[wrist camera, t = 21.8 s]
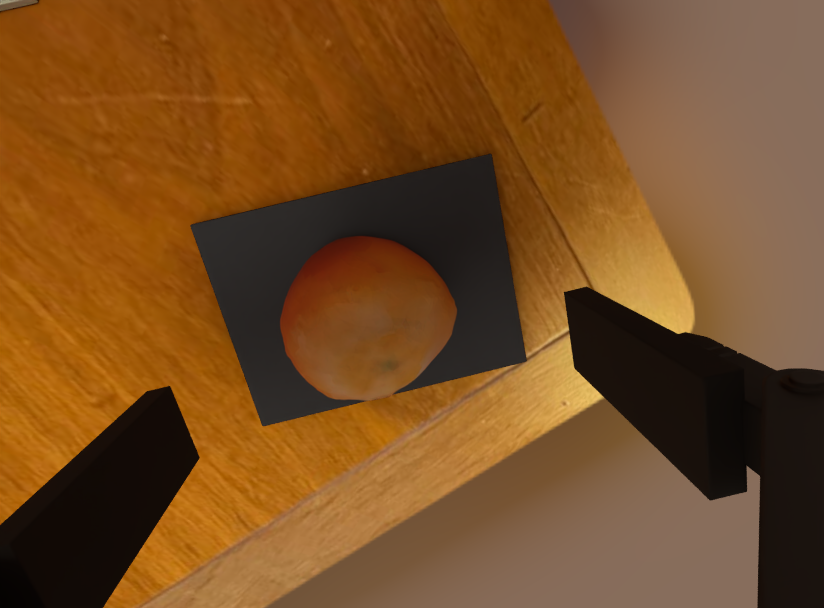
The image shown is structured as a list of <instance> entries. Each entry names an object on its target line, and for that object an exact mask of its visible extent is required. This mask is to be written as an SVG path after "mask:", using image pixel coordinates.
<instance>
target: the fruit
mask: <svg viewBox="0 0 824 608" xmlns="http://www.w3.org/2000/svg"><path fill="white" fill-rule="evenodd" d="M456 315H457V308H456V305H455V301H454V299H453V298H452V296H451V294H450V292H449V289H448V287H447V285H446V284H445V282H444V281H443V279H442V278H441V277H440V276H439V274H438V273H437V272H436V271H435V270H434V268H433V267H432V266H431V265H430V264H429V263H428V262H427V261H426V260H424V259H423V258H422V257H420V256H419V255H417V254H416V253H414V252H413V251H411V250H410V249H408V248H407V247H405V246H403V245H401V244H399V243H397V242H395V241H392V240H388V239H382V238H376V237H368V236H353V237H346V238H341V239H337V240H335V241H333V242H331V243H329V244H327V245H325V246H324V247H323V248H321V249H320V250H319V251H317V252H316V253H315V254H313V255H312V256H311V257H310V258H309V259H308V260H307V261H306V263H305V264H304V265H303V267H302V268H301V270H300V271H299V273H298V274H297V276H296V278H295V279H294V281H293V283H292V285H291V286H290V289H289V291H288V294H287V296H286V299H285V302H284V306H283V310H282V314H281V319H280V329H281V333H282V336H283V341H284V345H285V351H286V354H287V356H288V357H289V358H290V359H291V361H292V363H293V365H294V366H295V368H296V369H297V370H298V372H299V373H300V374H301V375H302V376H303V377H304V378H305V380H306V381H307V382H308V383H309V384H311V385H312V386H314V387H315V388H316V389H317V390H318V391H319V392H321V393H323V394H324V395H326V396H327V397H329V398H333V399H341V400H347V399H351V400H364V401H369V400H376V399H380V398H385V397H389V396H391V395H392V394H393V393H395V392H396V391H398V390H399V389H401V388H403V387H405V386H406V385H408V384H409V383H411V382H412V381H413V380H415V379H416V378H417V377H418V376H419V375H420V374H421V373H422V372H423V371H424V370H425V369H426V367H427V366H428V365H429V364H430V362H431V361H432V360H433V359H434V358H435V357H436V356H437V355H438V354H439V352H440V351H441V350H442V349H443V347H444V346H445V344H446V343H447V341H448V340H449V338H450V337H451V335H452V331H453V326H454V322H455V319H456Z"/></svg>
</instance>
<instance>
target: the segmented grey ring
mask: <svg viewBox="0 0 824 608" xmlns="http://www.w3.org/2000/svg"><path fill="white" fill-rule="evenodd" d="M34 3H38V0H0V11H3V10H7V9H12V8H16V7H21V6H25V5H30V4H34Z"/></svg>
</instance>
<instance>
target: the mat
mask: <svg viewBox="0 0 824 608" xmlns="http://www.w3.org/2000/svg"><path fill="white" fill-rule="evenodd" d="M191 229H192V232H193V234H194V237H195V240H196V243H197V246H198V248H199V251H200V254H201V257H202V259H203V262H204V265H205V268H206V271H207V273H208V276H209V279H210V282H211V284H212V287H213V290H214V293H215V295H216V298H217V301H218V304H219V307H220V309H221V312H222V315H223V318H224V320H225V323H226V326H227V329H228V332H229V334H230V337H231V340H232V343H233V345H234V348H235V351H236V354H237V357H238V359H239V362H240V365H241V368H242V370H243V373H244V376H245V379H246V382H247V384H248V387H249V390H250V393H251V395H252V398H253V401H254V404H255V407H256V409H257V412H258V415H259V418H260V420H261V423H262V426H267V425H271V424H275V423H279V422H283V421H287V420H291V419H295V418H299V417H303V416H307V415H311V414H315V413H320V412H324V411H328V410H332V409H336V408H340V407H344V406H348V405H352V404H356V403H360V402H364V400H351V399H347V400H341V399H333V398H329V397H327V396H326V395H324V394H323V393H321V392H319V391H318V390H317V389H316V388H315V387H314V386H312V385H311V384H309V383H308V382H307V381H306V380H305V378H304V377H303V376H302V375H301V374H300V373H299V372H298V370H297V369H296V368H295V366H294V365H293V363H292V361H291V359H290V358H289V357H288V356H287V354H286V351H285V345H284V341H283V336H282V333H281V329H280V319H281V314H282V310H283V306H284V302H285V299H286V296H287V294H288V291H289V289H290V286H291V285H292V283H293V281H294V279H295V278H296V276H297V274H298V273H299V271H300V270H301V268H302V267H303V265H304V264H305V263H306V261H307V260H308V259H309V258H310V257H311V256H312V255H313V254H315V253H316V252H317V251H319V250H320V249H321V248H323V247H324V246H325V245H327V244H329V243H331V242H333V241H335V240H337V239H341V238H346V237H353V236H368V237H376V238H382V239H388V240H392V241H395V242H397V243H399V244H401V245H403V246H405V247H407V248H408V249H410V250H411V251H413V252H414V253H416V254H417V255H419V256H420V257H422V258H423V259H424V260H426V261H427V262H428V263H429V264H430V265H431V266H432V267H433V268H434V270H435V271H436V272H437V273H438V274H439V276H440V277H441V278H442V279H443V281H444V282H445V284H446V285H447V287H448V289H449V292H450V294H451V296H452V298H453V299H454V301H455V305H456V308H457V315H456V319H455V322H454V326H453V331H452V335H451V337H450V338H449V340H448V341H447V343H446V344H445V346H444V347H443V349H442V350H441V351H440V352H439V354H438V355H437V356H436V357H435V358H434V359H433V360H432V361H431V362H430V364H429V365H428V366H427V367H426V369H425V370H424V371H423V372H422V373H421V374H420V375H419V376H418V377H417V378H416V379H415V380H413V381H412V382H411V383H409V384H408V385H406V386H405V387H403V388H401V389H399V390H398V391H396V392H395V393H393V394H397V393H401V392H405V391H409V390H413V389H417V388H421V387H425V386H429V385H433V384H437V383H441V382H445V381H449V380H454V379H458V378H462V377H466V376H470V375H474V374H478V373H482V372H486V371H490V370H494V369H498V368H502V367H506V366H510V365H514V364H519V363H523V362H526V361H527V360H526V354H525V348H524V342H523V337H522V331H521V325H520V319H519V313H518V307H517V301H516V295H515V289H514V283H513V278H512V272H511V266H510V260H509V254H508V248H507V242H506V236H505V230H504V224H503V219H502V213H501V207H500V201H499V195H498V189H497V183H496V177H495V171H494V165H493V160H492V155H491V154H488V155H483V156H479V157H475V158H471V159H467V160H462V161H458V162H454V163H450V164H445V165H441V166H437V167H433V168H428V169H424V170H420V171H416V172H412V173H407V174H403V175H399V176H395V177H390V178H386V179H382V180H378V181H374V182H369V183H365V184H361V185H357V186H352V187H348V188H344V189H340V190H336V191H331V192H327V193H323V194H319V195H314V196H310V197H306V198H302V199H297V200H293V201H289V202H285V203H281V204H276V205H272V206H268V207H264V208H259V209H255V210H251V211H247V212H243V213H238V214H234V215H230V216H226V217H221V218H217V219H213V220H209V221H204V222H200V223H196V224H192V225H191ZM393 394H392V395H393Z"/></svg>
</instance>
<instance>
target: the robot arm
mask: <svg viewBox="0 0 824 608" xmlns="http://www.w3.org/2000/svg"><path fill="white" fill-rule="evenodd" d="M564 296H565V303H566V311H567V318H568V325H569V332H570V340H571V347H572V354H573V361H574V368H575V369H576V370H577V371H578V372H579V373H580V374H581V375H582V376H583V377H584V378H585V379H586V380H587V381H588V382H589V383H590V384H591V385H592V386H593V387H594V388H595V389H596V390H597V391H598V392H599V393H600V394H601V395H602V396H603V397H604V398H605V399H607V400H608V401H609V402H610V403H611V404H612V405H613V406H614V407H615V408H616V409H617V410H618V411H619V412H620V413H621V414H622V415H623V416H624V417H625V418H626V419H627V420H628V421H629V422H630V423H631V424H632V425H633V426H634V427H635V428H636V429H637V430H638V431H639V432H640V433H642V435H643V436H644V437H645V438H647V439H648V440H649V441H650V442H651V443H652V444H653V445H654V446H655V447H656V448H657V449H658V450H659V451H660V452H661V453H662V454H663V455H664V456H665V457H666V458H667V459H668V460H669V461H670V462H671V463H672V464H673V465H674V466H675V467H676V468H677V469H678V470H679V471H680V472H681V473H682V474H683V475H685V476H686V477H687V478H688V479H689V480H690V481H691V482H692V483H693V484H694V485H695V486H696V487H697V488H698V489H699V490H700V491H701V492H702V493H703V494H704V495H705V496H706V497H707V498H708V499H709V500H714V499H718V498H723V497H726V496H731V495H735V494H739V493H743V492H747V471H746V470H747V469H746V465H747V466H748V467H749V468H751V469H752V470H753V471H754V472H756V473H757V474H758V475H760V513H759V515H760V516H759V562H758V563H759V564H758V608H824V371H821V370H813V369H784V370H778V371H776V370H774V369H772V368H770V367H768V366H766V365H764V364H762V363H759V362H758V361H755V360H753V359H751V358H749V357H747V356H745V355H743V354H741V353H738V354H737V351H735V350H732V349H730V348H729V347H724V346H723V345H722V344H720V343H718V342H716V341H714V340H712V339H710V338H708V337H704V336H700V335H695V334H691V333H687V332H685V333H681V334H677V333H675V332H673V331H671V330H669V329H667V328H665V327H663V326H661V325H659V324H657V323H656V322H654V321H652V320H650V319H648V318H646V317H644V316H642V315H640V314H638V313H636V312H634V311H633V310H631V309H629V308H627V307H625V306H623V305H621V304H619V303H617V302H615V301H613V300H611V299H610V298H608V297H606V296H604V295H602V294H600V293H598V292H596V291H594V290H592V289H590V288H588V287H583V288H579V289H575V290H571V291H567V292H564ZM199 458H200V457H199V455H198V452H197V450H196V448H195V445H194V443H193V440H192V438H191V436H190V433H189V431H188V428H187V426H186V423H185V421H184V419H183V416H182V414H181V411H180V409H179V407H178V404H177V402H176V399H175V397H174V394H173V392H172V390H171V387H170V386H168V387H163V388H159V389H155V390H151V391H147V392H146V393H145V394H144V395H142V396H141V397H140V398H139V399H138V400H137V401H136V402H135V403H134V404H133V405H131V406H130V407H129V408H128V409H127V410H126V411H125V412H124V413H123V414H122V415H121V416H119V417H118V418H117V419H116V420H115V421H114V422H113V423H112V424H111V425H110V426H108V427H107V428H106V429H105V430H104V431H103V432H102V433H101V434H100V435H99V436H97V437H96V438H95V439H94V440H93V441H92V442H91V443H90V444H89V445H88V446H87V447H85V448H84V449H83V450H82V451H81V452H80V453H79V454H78V455H77V456H76V457H74V458H73V459H72V460H71V461H70V462H69V463H68V464H67V465H66V466H65V467H63V468H62V469H61V470H60V471H59V472H58V473H57V474H56V475H55V476H54V477H53V478H51V479H50V480H49V481H48V482H47V483H46V484H45V485H44V486H43V487H42V488H40V489H39V490H38V491H37V492H36V493H35V494H34V495H33V496H32V497H31V498H29V499H28V500H27V501H26V502H25V503H24V504H23V505H22V506H21V507H20V508H19V509H17V510H16V511H15V512H14V513H13V514H12V515H11V516H10V517H9V518H8V519H6V520H5V521H4V522H3V523H2V524H1V525H0V608H103V607H104V605H105V604H106V602H107V600H108V599H109V597H110V596H111V594H112V593H113V591H114V590H115V588H116V587H117V585H118V583H119V582H120V580H121V579H122V577H123V576H124V574H125V573H126V571H127V570H128V568H129V566H130V565H131V563H132V562H133V560H134V559H135V557H136V556H137V554H138V553H139V551H140V549H141V548H142V546H143V545H144V543H145V542H146V540H147V539H148V537H149V536H150V534H151V532H152V531H153V529H154V528H155V526H156V525H157V523H158V522H159V520H160V519H161V517H162V515H163V514H164V512H165V511H166V509H167V508H168V506H169V505H170V503H171V501H172V500H173V498H174V497H175V495H176V494H177V492H178V491H179V489H180V488H181V486H182V484H183V483H184V481H185V480H186V478H187V477H188V475H189V474H190V472H191V471H192V469H193V467H194V466H195V464H196V463H197V461H198V460H199Z"/></svg>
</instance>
